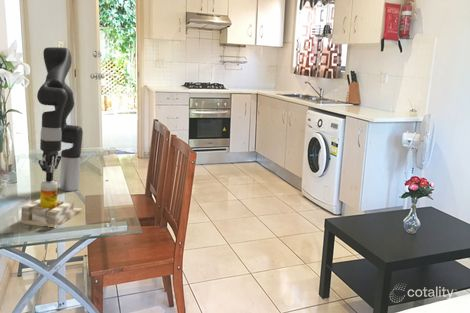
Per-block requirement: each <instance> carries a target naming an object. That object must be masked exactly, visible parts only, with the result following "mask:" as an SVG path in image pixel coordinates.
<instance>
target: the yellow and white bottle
mask: <svg viewBox="0 0 470 313" xmlns="http://www.w3.org/2000/svg"><path fill="white" fill-rule="evenodd" d="M58 187H59V186H58V182H57V180H56V179H53V181H46V179H43V180H42V181H41V182H40V198H39V199H40V207H42V208H48V209H49V211H50V210H52V209H54V208H56V207H57V200H58Z"/></svg>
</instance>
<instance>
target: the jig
mask: <svg viewBox="0 0 470 313" xmlns="http://www.w3.org/2000/svg"><path fill="white" fill-rule="evenodd" d="M74 206H75V205H74V202H71V201H66V202H65V201H64V200H58V199H57V207H56V208H54V209H52V210H50V211H49V209H48V208H42V207H40V198H39V199H37V200H35V201H32V202H30V203H28V204H26V205H24V206H21V221H20V223H21V224H25V225H31V226H37V227H43V226H49V227H55V226H57V225H60V224H61V225H63V224H64V223H66V222H68V221H70V220H71V219H72V218H74V217H76V216H77V215H79V214H81V213H82V212H83V208H81V207H74ZM62 223H63V224H62ZM61 225H60V226H61ZM49 227H48V228H49Z"/></svg>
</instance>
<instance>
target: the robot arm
mask: <svg viewBox="0 0 470 313" xmlns="http://www.w3.org/2000/svg"><path fill="white" fill-rule="evenodd" d="M42 55H43V56H42V57H43V60H44V65H45V70H46V77H45V82H44V83H43V84H42V85H41V86H40V87H39V89H38V91H37V100H38V101H37V102H39V103H40V104H41V105H44V106H51V107H52V106H53V107H54V110H50V111H43V113H42V115H41V129H40V139H39V140H40V141H39V142H40V143H39V144H40V147H39V149H40V151H42V152H43V153H42V155H41V156H42V158H41V159H39V160H38V162H37V163H38V165H39V166H40V168H41V170H42V172H45V180H46V181H53V180H54V172H55V171H56V170H57V169H58V167H59V164H60V175H59V176H60V178H59V190H61V191H65V192H74V191H78V190H79V189H80V178H81V176H80V175H81V156H82V154H81V152H82V143H83V133H84V132H83V127H82V126H78V125H72V124H67V118H68V116H69V115H70V113H71V112H72V111H73V109H74V107H75V98H74V93H73V91H72V89H71V87H70V86H69V85H68V84H67V82H66V77H67V75H68V73H69V72H70V69H71V67H72V53H71V51H70V49H69V48H67V47H45V48H44V49H43V54H42ZM62 143H65V144H71V145H72V146H71V147H70V148H66V149H63V150H62ZM60 151H61V153H60V154H61V155H59V152H60Z"/></svg>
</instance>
